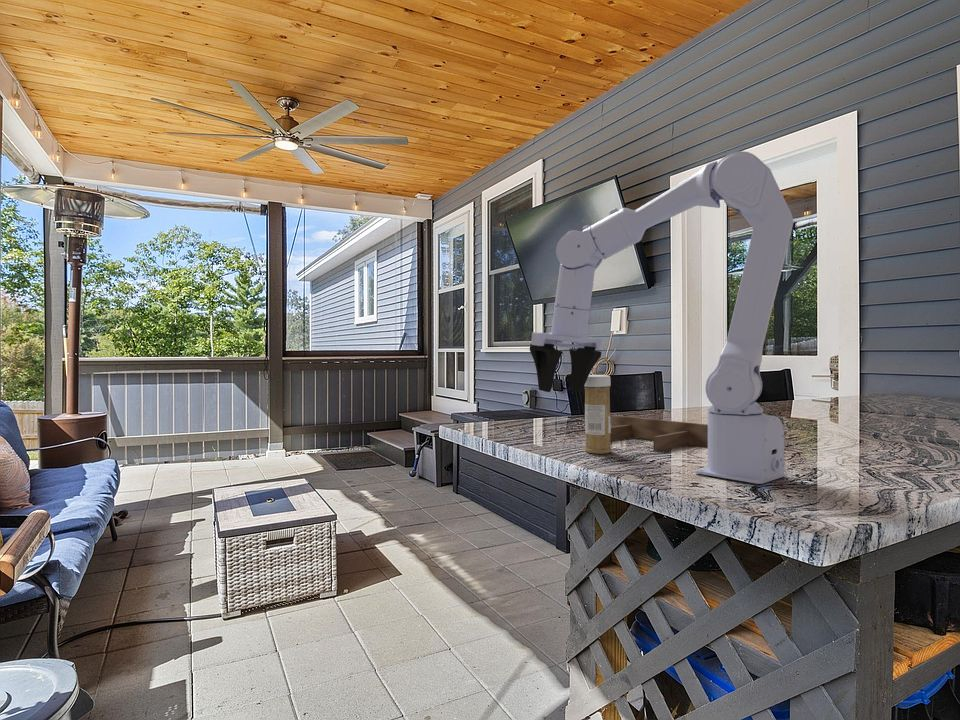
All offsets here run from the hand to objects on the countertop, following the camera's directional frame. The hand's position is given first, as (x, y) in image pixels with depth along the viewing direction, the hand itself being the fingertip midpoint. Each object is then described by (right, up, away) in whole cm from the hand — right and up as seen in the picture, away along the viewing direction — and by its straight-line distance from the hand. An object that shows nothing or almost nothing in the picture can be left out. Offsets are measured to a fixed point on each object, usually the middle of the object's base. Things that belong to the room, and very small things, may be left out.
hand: (560, 390), depth 97 cm
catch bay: (+17, -11, +14) cm, 25 cm away
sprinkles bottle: (+7, -11, +6) cm, 15 cm away
